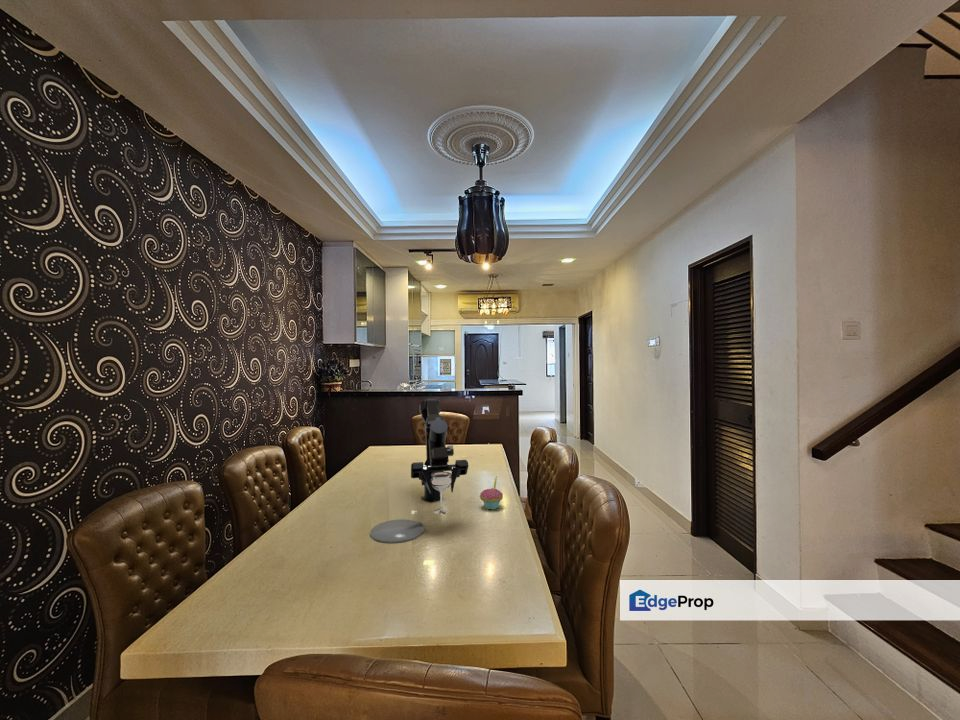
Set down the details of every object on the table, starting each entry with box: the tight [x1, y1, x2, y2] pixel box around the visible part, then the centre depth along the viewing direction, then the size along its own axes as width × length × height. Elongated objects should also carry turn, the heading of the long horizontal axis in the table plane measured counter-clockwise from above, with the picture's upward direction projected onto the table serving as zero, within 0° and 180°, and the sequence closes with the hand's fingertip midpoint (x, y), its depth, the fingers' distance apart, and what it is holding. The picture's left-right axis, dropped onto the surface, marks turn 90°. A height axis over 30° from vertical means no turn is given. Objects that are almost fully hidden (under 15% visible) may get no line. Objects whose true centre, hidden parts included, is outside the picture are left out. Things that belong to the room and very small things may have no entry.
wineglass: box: [431, 471, 452, 515], centre depth 134 cm, size 7×7×12 cm
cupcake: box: [479, 476, 504, 510], centre depth 156 cm, size 9×8×12 cm
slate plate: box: [370, 519, 425, 544], centre depth 135 cm, size 17×17×1 cm
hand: (441, 492), depth 133 cm, fingers closed on wineglass, 6 cm apart
